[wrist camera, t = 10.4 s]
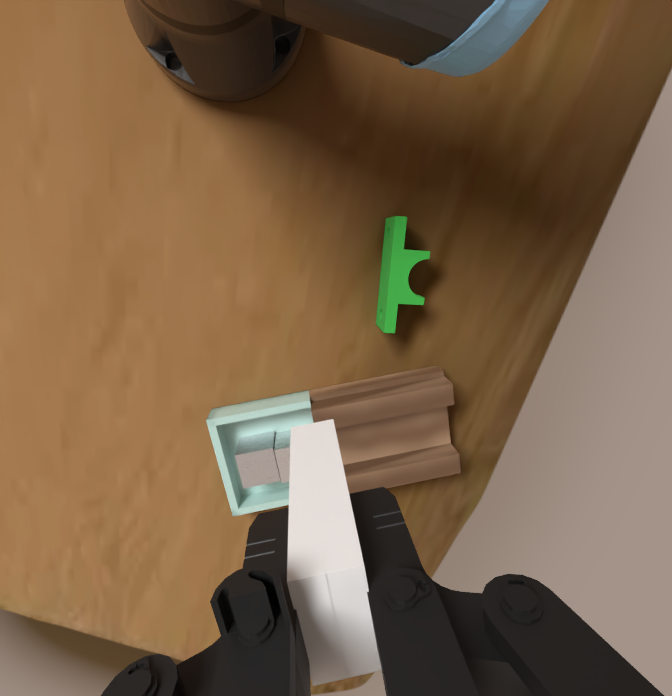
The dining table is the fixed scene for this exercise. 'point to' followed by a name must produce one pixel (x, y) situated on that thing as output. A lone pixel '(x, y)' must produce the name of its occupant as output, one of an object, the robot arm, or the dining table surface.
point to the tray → (250, 421)
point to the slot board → (391, 427)
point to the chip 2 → (283, 454)
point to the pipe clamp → (396, 274)
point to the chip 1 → (257, 459)
